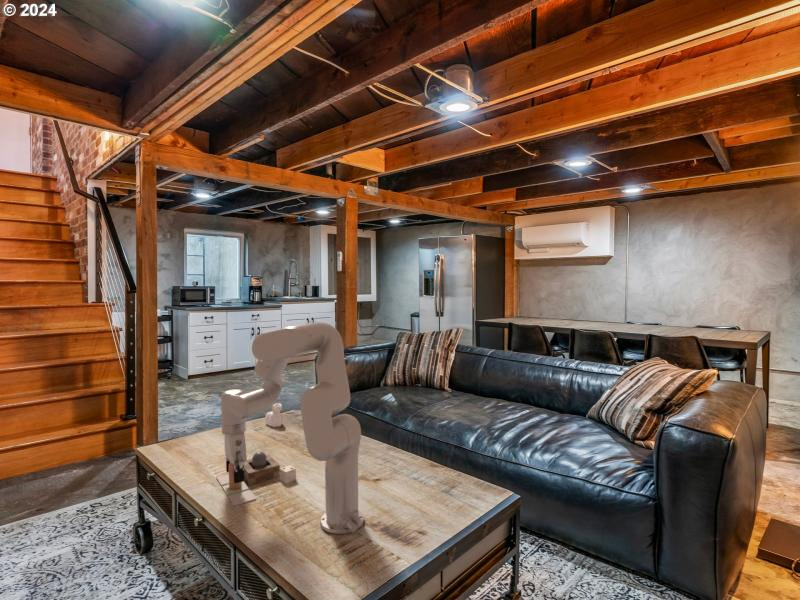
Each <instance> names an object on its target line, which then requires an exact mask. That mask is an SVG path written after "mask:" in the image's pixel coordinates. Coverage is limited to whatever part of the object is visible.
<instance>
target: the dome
mask: <svg viewBox="0 0 800 600" xmlns="http://www.w3.org/2000/svg"><path fill="white" fill-rule="evenodd" d="M266 456H267V455H266V453H265V452H264V451H258V452H255V453H254V454H253V455H252V458H251V459H252V468H253V469H256V468H260V467H264V466H267V457H266Z"/></svg>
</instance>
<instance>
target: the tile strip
mask: <svg viewBox="0 0 800 600" xmlns="http://www.w3.org/2000/svg"><path fill="white" fill-rule="evenodd" d="M216 480H217V482H218V484H220V486H221V488H222V490H223V491H224V493H225V495H226V497H228V499H229V501H230V502H231V504H232V506H233V507H236V506H241V505H243V504H246V503H250V502H253V501H256V500H257V497H256V496H255V495H254V493H253V492H252V491H251V489H250V488H249V486H248V485H247V484H246V483H245V482H246V481H245V480H244V481H243V482H242V487H241V488H240V489H238V490H230V489H229V473H228V474H224V475H219V476H217V477H216Z"/></svg>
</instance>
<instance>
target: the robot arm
mask: <svg viewBox="0 0 800 600" xmlns="http://www.w3.org/2000/svg"><path fill="white" fill-rule="evenodd" d="M344 351H345V349H344V342H343V339H342V336H341V333H340V332H339V331H338V329H336V327H334V326H333V325H332V324H330V323H325V322H311V323H309V322H308V323H304V324H298V325H291V326H287V327H283V328H279V329H275V330H269V331H264V332H261V333H258V334H257V335H256V336H255V338H254V339H253V340H252V345H251V352H252V355H253V356H254V358H255V359H256V360H257V361H256V363H255V365H254V372H255V374H256V375H257V376H258V377H259V378H260V379H261V380H264V382H263V383H262V385H261V387H260V388H259V389H256V390H252V391H250V392H247V393H245V391H244V390H242V389H237V388H236V389H235V388H233V389H229V390H226V391H223V392H222V393H221V396H220V399H221V401H220V405H221V406H220V408H221V411H220V412H221V434H222V435H224V454H225V455H224V456H225V469H226V470H225V471H226V473H229V463H231V464H234V469H235V471H234V483H239V482H243V481H244V482H245V479H244V465H243V464H244V462H245V461H247V457H248V456H247V445H246V443H247V442H246V435H245V432H246V431H247V428H246V427H247V425H246V420H247V419H248V418H250V417H253V416H255V415H258V414H260V413H264V412H266V411H267V410H269V409H272V406H273V404H276V403H277V402H276V401H277V400H278V398H279V396H280V395H281V392H282V387H283V384H282V383H283V382H282V381H283V380H282V377H281V376H282V374H283V372H284V370H285V369H286V367H287V365H288V363H289V361H290V360H291V359H292V358H294V357H299V356H302V355H306V354H309V353H314V352H317V353H318V355H317V358H316V362H315V370H316V371H315V372H316V375H317V378H316V379H317V384H315V385H312V386H310V387H309V388H307V389H306V390H305V391H304V393H302V396H301V400H300V413H301V414H300V415H301V421H302V426H303V433H304V434H303V435H304V439H305V445H306V448H307V451H308V453H309V454H310V456H311V457H312V458H313V459H314V460H316V461H318V462H324V463H325V468H324V470H325V473H324V474H325V476H324V479H325V480H324V483H325V484H324V485H325V487H324V488H325V512H324V513H323V514H322V515H321V517H320V522H319V523H320V527H321V529H322V530H324V531H326V532H327V533H329V534H334V535H343V534H344V535H346V534H349V533H350V534H351V533H355V532H356V531H357V530H358V529H360V528H361V527H362V526H363V524H364V514H363V512H362V511H361V510H359V452H360V444H361V439H362V428H361V424H360V422H359V420H358V419H357V418H356V417H355V416H353V415H352V414H349V413H348V414H347V413H343V414H337V413H340V412H341V411H344V410H345V409H347V407H348V406H349V405H350V403H351V391H350V385H349V379H348V372H347V368H346V367H347V366H346V361H345V353H344ZM335 414H337V415H336V416H334V417H333V415H335ZM236 460H238V461H236ZM235 461H236V462H235ZM236 464H239V465H238V466H236Z"/></svg>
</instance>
